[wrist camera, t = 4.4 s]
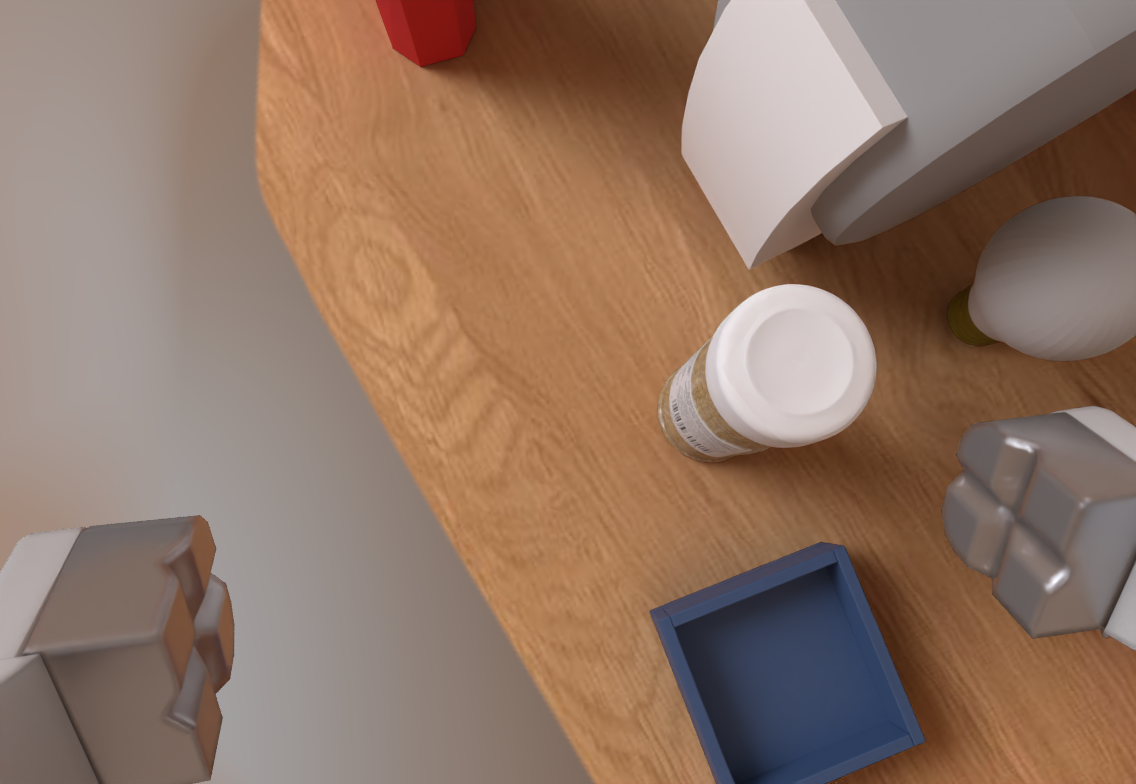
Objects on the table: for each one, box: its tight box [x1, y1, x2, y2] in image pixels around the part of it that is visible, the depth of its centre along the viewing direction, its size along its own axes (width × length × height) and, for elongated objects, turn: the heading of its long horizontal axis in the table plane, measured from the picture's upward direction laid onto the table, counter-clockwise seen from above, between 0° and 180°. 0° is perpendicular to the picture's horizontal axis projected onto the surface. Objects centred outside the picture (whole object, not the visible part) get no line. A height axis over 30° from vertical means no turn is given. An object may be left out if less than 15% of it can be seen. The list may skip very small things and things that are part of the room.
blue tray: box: [650, 542, 926, 784], centre depth 33 cm, size 8×8×3 cm
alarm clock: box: [682, 0, 1136, 270], centre depth 27 cm, size 18×8×20 cm, turn 119°
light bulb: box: [948, 196, 1136, 361], centre depth 32 cm, size 6×6×10 cm
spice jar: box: [658, 284, 877, 462], centre depth 29 cm, size 5×5×14 cm
